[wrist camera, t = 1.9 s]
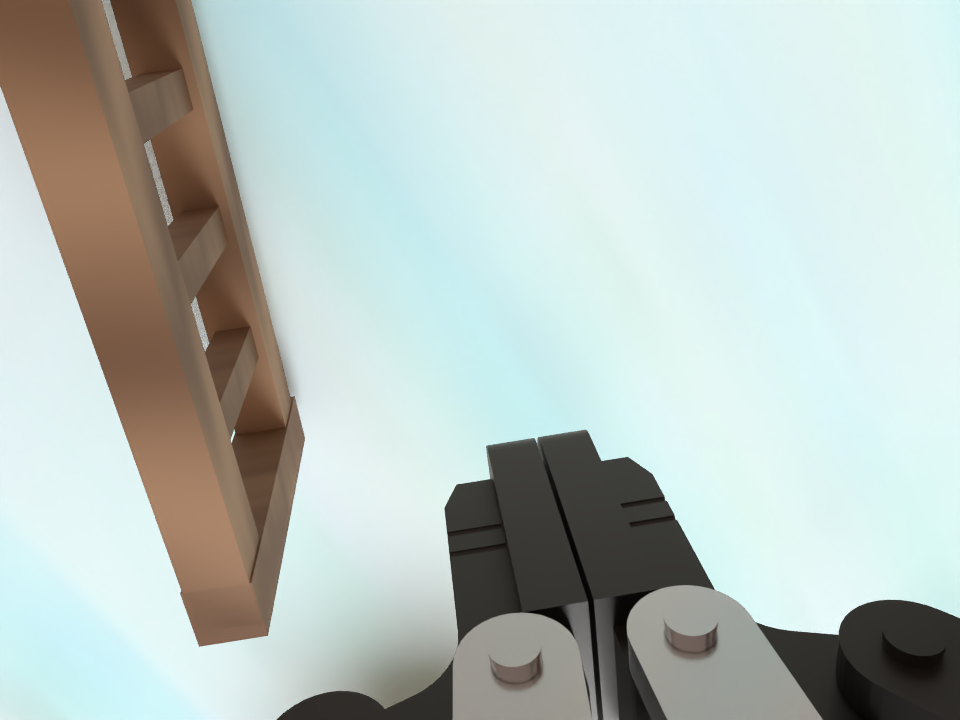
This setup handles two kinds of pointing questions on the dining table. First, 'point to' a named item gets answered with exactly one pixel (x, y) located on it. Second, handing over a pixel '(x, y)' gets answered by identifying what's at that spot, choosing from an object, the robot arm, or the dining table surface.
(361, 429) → the dining table surface
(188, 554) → the walnut gate
